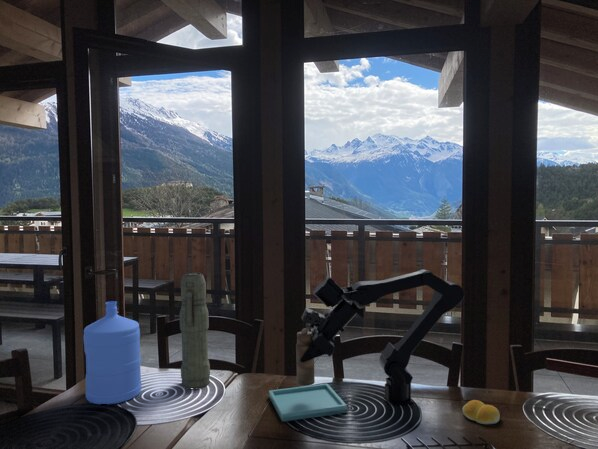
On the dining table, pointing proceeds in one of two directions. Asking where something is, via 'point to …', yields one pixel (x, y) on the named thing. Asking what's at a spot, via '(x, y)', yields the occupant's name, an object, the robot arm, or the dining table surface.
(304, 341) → the pepper mill
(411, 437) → the dining table surface
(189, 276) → the thermos
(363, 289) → the robot arm
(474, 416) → the bread roll
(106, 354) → the water jug
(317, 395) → the teal tray
